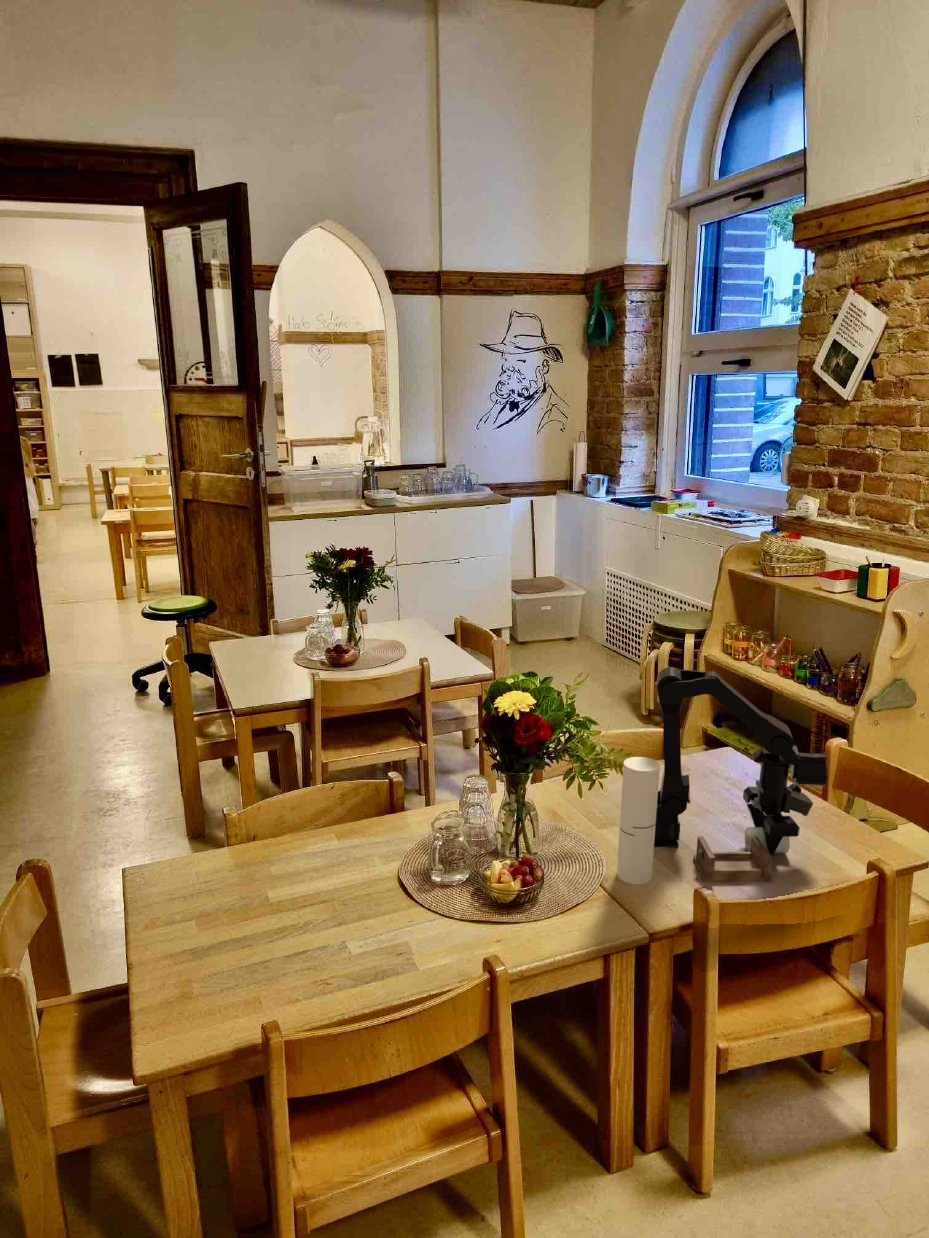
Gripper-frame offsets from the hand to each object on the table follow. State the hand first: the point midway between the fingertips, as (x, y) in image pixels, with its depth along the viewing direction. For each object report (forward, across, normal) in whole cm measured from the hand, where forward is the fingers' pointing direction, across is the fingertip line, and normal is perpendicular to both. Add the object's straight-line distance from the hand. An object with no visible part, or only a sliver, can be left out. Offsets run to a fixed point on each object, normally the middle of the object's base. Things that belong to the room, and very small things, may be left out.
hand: (766, 846), depth 201 cm
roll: (+1, 0, 0) cm, 1 cm away
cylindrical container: (+1, -10, +31) cm, 33 cm away
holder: (+1, -8, +10) cm, 13 cm away
